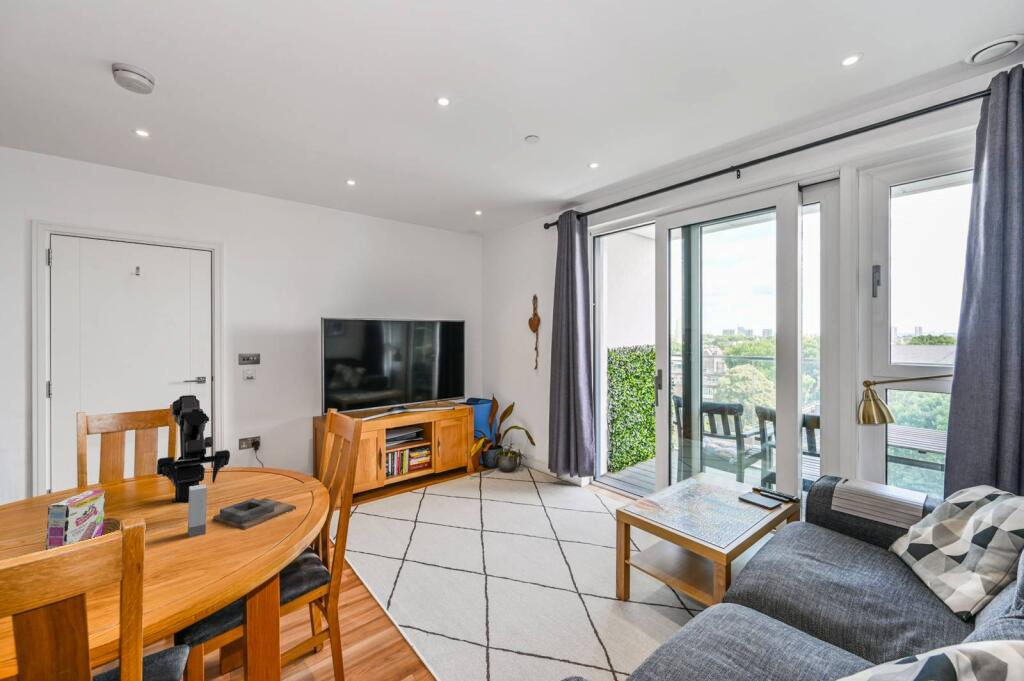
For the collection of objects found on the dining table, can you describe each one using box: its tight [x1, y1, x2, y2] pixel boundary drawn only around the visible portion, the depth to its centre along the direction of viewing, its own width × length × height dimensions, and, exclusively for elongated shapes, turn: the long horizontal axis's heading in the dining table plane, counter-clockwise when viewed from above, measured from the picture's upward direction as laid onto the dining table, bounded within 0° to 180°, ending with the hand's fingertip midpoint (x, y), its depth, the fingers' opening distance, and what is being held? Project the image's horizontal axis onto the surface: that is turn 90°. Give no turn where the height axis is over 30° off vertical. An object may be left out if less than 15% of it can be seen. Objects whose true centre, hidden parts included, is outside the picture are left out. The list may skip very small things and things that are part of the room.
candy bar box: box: [45, 490, 106, 551], centre depth 112 cm, size 11×5×16 cm, turn 5°
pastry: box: [103, 517, 121, 535], centre depth 125 cm, size 9×7×4 cm
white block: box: [187, 483, 208, 538], centre depth 128 cm, size 4×4×14 cm
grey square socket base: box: [212, 497, 297, 530], centre depth 143 cm, size 16×18×4 cm
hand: (195, 485), depth 133 cm, fingers open, 9 cm apart
